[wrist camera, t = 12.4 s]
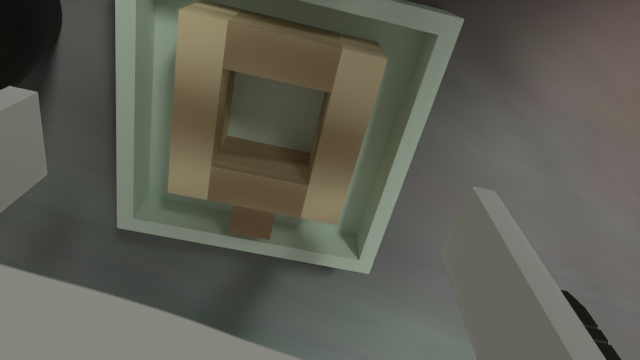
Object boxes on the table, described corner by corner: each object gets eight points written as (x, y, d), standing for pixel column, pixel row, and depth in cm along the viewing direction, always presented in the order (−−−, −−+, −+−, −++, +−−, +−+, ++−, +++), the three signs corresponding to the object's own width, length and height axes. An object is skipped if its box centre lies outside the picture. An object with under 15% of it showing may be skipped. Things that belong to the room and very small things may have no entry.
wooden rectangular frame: (202, -1, 18) (178, 9, 15) (377, 42, 19) (387, 59, 16) (187, 184, 23) (165, 220, 20) (328, 212, 24) (329, 251, 20)
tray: (145, -67, 18) (114, -70, 15) (445, 10, 19) (464, 19, 16) (139, 198, 24) (117, 228, 21) (364, 240, 25) (368, 274, 23)
